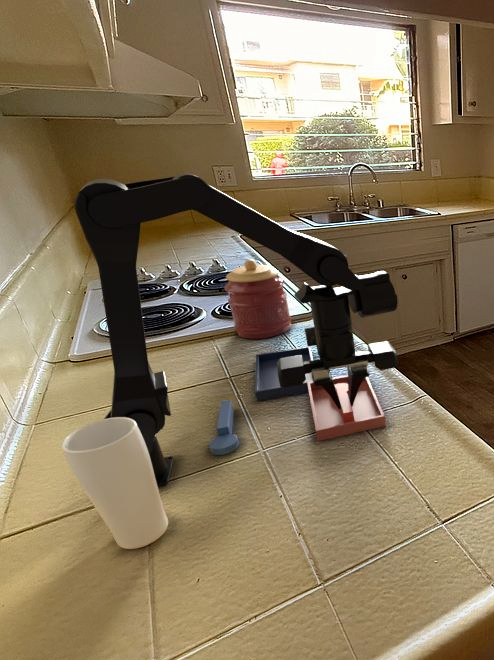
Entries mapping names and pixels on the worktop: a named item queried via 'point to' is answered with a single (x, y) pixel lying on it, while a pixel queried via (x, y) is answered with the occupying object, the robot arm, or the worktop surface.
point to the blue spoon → (224, 431)
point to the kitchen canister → (257, 301)
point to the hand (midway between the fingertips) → (345, 406)
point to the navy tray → (268, 374)
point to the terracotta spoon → (344, 402)
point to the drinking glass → (118, 479)
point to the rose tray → (331, 417)
